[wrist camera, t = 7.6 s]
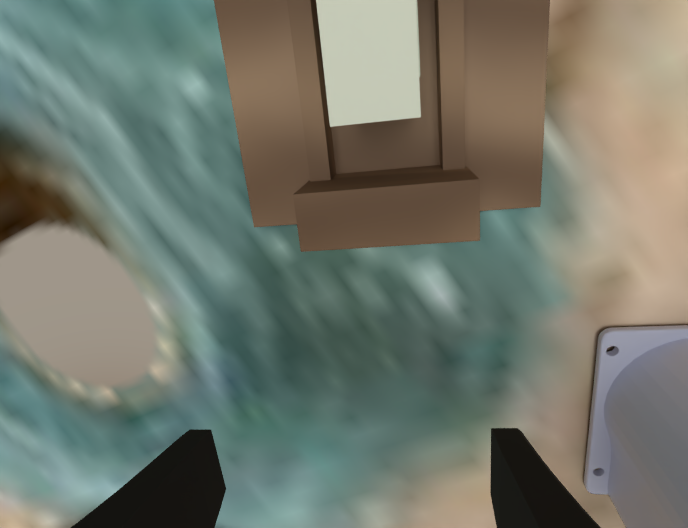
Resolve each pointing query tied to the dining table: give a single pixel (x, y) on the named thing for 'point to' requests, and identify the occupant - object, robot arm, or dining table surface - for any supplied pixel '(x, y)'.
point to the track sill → (390, 125)
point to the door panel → (370, 60)
